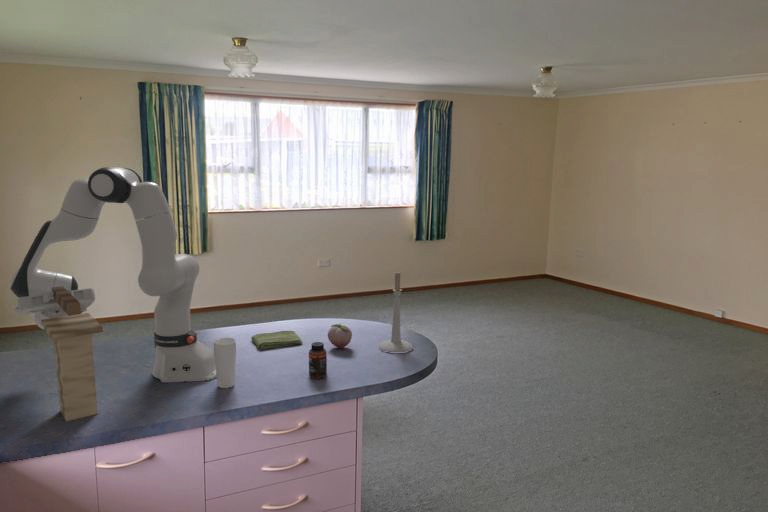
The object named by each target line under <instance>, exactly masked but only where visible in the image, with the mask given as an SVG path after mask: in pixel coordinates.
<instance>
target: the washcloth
mask: <svg viewBox="0 0 768 512" xmlns="http://www.w3.org/2000/svg"><path fill="white" fill-rule="evenodd" d="M251 341H252V342H253V343H254V345H256V347H257V349H258V350H260V349H264V350H270V349H269V348H273V349H277V348H276V347H279V348H283V347H284V348H285V347H290V346H298V345H297V344H299V345H301V344H303V341H302V339H301V338H300V336H299V334H297V333H296V331H294V330H280V331H279V330H278V331H272V332H264V333H258V334H254V335H252V336H251Z"/></svg>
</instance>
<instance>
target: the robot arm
mask: <svg viewBox="0 0 768 512" xmlns="http://www.w3.org/2000/svg"><path fill="white" fill-rule="evenodd" d="M106 203H109V204H110V203H111V204H125V203H126V204H127V205H128V206H129V207H130V209H131V212H132V215H133V218H134V220H135V225H136V228H137V231H138V236H139V238H140V242H141V243H140V244H141V250H142V251H141V254H142V255H141V256H142V260H141V262H142V263H141V270H140V272H139V274H138V276H137V277H138V278H137V284H138V287H139V289H140V290H141V291H142V293H144V294H145V295H146V296H149V297H158V301H157V302H156V305H155V307H154V310H153V315H154V330H155V331H154V332H153V345H154V348H155V356H154V364H153V368H152V373H151V374H152V376H153V377H154V378H156V379H159V380H160V382H161V383H181V382H184V381H187V382H205V380H207V381H211V380H213V379H215V378H217V377H216V376H217V375H216V367H215V360H214V350H212V349H211V348H210V347H208V346H206V345H205V344H204V343H202V342H200V341H199V340H198V339H197V336H198V335H199V331H198V330H197V331H194V330H193V329H192V328H191V304H192V303H191V302H192V298H193V297H192V296H193V291H194V287H195V283H196V279H197V277H198V275H199V273H200V265H199V262H198V260H197V259H196V258H195V257H194V256H193V255H191V254H188V253H175V250H176V249H175V247H176V246H175V245H176V241H177V238H178V233H177V230H176V225H175V222H174V219H173V216H172V212H171V209H170V206H169V202H168V200H167V198H166V196H165V193H164V191H163V190H162V188H161V186H160V185H159V184H157V183H155V182H154V181H143V180H142V177H141V176H140V175H139V174H138V173H137V172H136V171H135V170H133V169H131V168H127V167H120V166H109V167H107V166H106V167H100V168H98V169H96V170H94V171H93V172H92V173H90V176H89V178H85V177H84V178H82V177H81V178H77V179H75V180H74V181H72V183H71V185H70V186H69V187H68V190H67V192H66V194H65V197H64V199H63V201H62V204H61V208H60V210H59V212H58V214H57V215H56V216H55V217H54V218H53V219H51V220H46V222H44V223H43V224H42V226H41V227H40V229H39V231H38V233H37V235H36V236H35V237H34V239H33V241H32V243H31V246H30V247H29V249H28V251H27V253H26V254H25V256H24V259H23V261H22V262H21V264H20V266H19V267H18V269H16V271H15V273H14V274H13V275H12V278H11V281H10V290H11V292H12V293H13V294H14V295H15V297H17V307H15V309H14V311H15V312H16V313H19V314H21V315H32V314H34V322H35V324H36V325H37V327H39V328H40V329H42V330H45V329H44V327H43V326H42V323H41V320H42V319H49V318H55V317H62V316H68V315H67V313H66V312H65V311H64V310H63V309H62V308H61V307H60V306H59V304H58V303H57V302H56V301H55V300H54V298H55V295H54V291H53V292H52V288H53V287H61V286H63V287H64V288H65V289H66V290H67V291H68V292H69V293H70V294H71V295H72V296H73V297H74V298H75V299H76V300H77V301H78V302H79V303H80V306H81V314H82V313H87V309H88V308H89V307H91V305H93V304H94V302H95V301H96V294H95V290H94V288H91V287H88V288H81V289H80V288H79V284H78V282H77V280H76V279H75V278H76V277H74V276H73V275H70V274H65V273H61V272H55V271H50V270H46V269H41V268H38V267H37V266H38V263H40V260H41V258H42V256H43V255H44V252H45V250H46V249H47V248H48V247H49V246H50V245H52V244H56V243H60V242H61V243H62V242H71V241H72V242H73V241H78V240H83V239H86V238H87V237H89V236H90V235H92V233H93V232H94V231H95V230H96V229H95V228H96V227H97V225H98V221H99V219H100V218H99V217H100V216H101V212H102V209H103V207H104V205H105V204H106ZM210 379H211V380H210Z"/></svg>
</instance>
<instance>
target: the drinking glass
mask: <svg viewBox="0 0 768 512" xmlns="http://www.w3.org/2000/svg"><path fill="white" fill-rule="evenodd" d="M236 342H237V341H236V339H235V338H233V337H219V338H217V339H214V341H213V352H214V360H215V367H216V375H217V377H216V386H217V387H218V388H219V387H220V389H230V388H232V387H234V386H235V377H236V376H235V375H236V373H235V372H236V357H237V354H236V353H237V343H236ZM233 385H234V386H233ZM229 387H230V388H229Z"/></svg>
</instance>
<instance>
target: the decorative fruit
mask: <svg viewBox="0 0 768 512" xmlns="http://www.w3.org/2000/svg"><path fill="white" fill-rule="evenodd" d="M327 338H328V340H329V342H330V343H331V344H332V345H333V346H334V347H336V348H338V349H342V348H344V347H347V346H348V345H349V344H350V343H351V340H352V338H353V333H352V330H351V328H350V327H348V326H346V325H343V324H339V323H336V324H332V325H331V326H330V329H329V330H328V332H327Z"/></svg>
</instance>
